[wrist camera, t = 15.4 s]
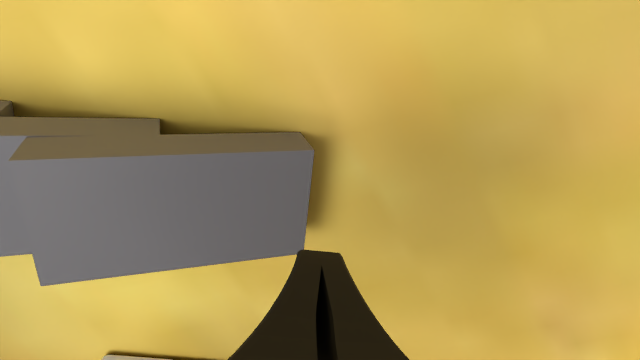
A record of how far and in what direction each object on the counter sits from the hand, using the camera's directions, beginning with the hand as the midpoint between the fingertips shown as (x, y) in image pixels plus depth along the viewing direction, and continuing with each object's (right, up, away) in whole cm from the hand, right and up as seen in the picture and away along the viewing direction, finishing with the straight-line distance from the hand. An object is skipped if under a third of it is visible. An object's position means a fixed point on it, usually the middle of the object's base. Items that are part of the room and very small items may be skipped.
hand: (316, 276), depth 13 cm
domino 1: (-1, +2, +5) cm, 5 cm away
